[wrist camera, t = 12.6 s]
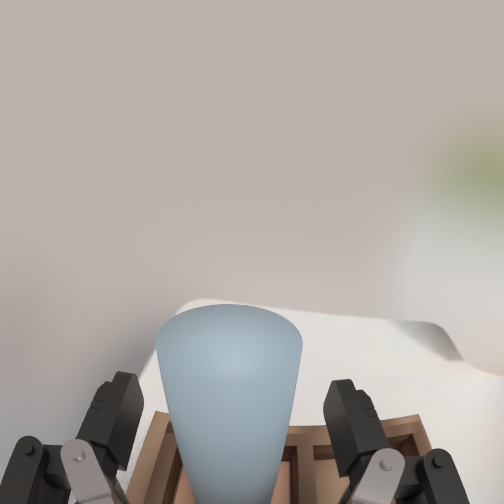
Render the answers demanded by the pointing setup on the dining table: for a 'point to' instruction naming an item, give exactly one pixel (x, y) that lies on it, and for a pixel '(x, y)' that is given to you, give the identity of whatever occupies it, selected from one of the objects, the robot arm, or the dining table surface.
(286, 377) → the slate peg
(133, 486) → the slot rack
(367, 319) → the dining table surface
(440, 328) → the dining table surface
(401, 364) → the dining table surface
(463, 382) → the dining table surface
